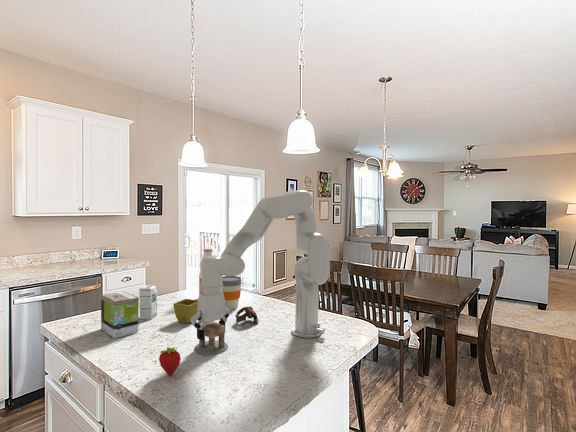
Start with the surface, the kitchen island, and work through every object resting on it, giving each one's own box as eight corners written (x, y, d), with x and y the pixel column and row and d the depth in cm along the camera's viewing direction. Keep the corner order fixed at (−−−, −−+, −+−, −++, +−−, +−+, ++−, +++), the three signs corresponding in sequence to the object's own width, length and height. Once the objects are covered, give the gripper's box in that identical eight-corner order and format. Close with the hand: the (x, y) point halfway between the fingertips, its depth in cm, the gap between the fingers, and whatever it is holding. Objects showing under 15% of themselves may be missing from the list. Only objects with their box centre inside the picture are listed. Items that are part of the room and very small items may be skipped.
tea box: (139, 332, 138) (139, 296, 137) (113, 339, 130) (113, 301, 130) (124, 323, 148) (125, 290, 148) (100, 329, 141) (100, 294, 140)
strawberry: (167, 383, 98) (167, 350, 98) (154, 375, 103) (154, 343, 103) (185, 376, 103) (185, 344, 103) (172, 368, 108) (172, 337, 108)
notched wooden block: (212, 341, 128) (212, 320, 128) (224, 347, 124) (224, 325, 123) (198, 346, 124) (199, 325, 124) (211, 352, 119) (211, 330, 119)
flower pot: (172, 323, 149) (172, 303, 149) (185, 317, 157) (185, 298, 157) (188, 326, 146) (188, 305, 145) (201, 320, 154) (201, 300, 153)
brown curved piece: (258, 328, 146) (249, 313, 144) (240, 336, 148) (230, 321, 146) (261, 312, 158) (253, 298, 156) (244, 320, 159) (236, 306, 157)
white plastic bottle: (212, 295, 195) (212, 247, 195) (218, 299, 188) (219, 249, 187) (196, 297, 190) (196, 248, 189) (202, 301, 182) (203, 250, 182)
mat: (234, 347, 124) (234, 346, 124) (207, 358, 115) (207, 357, 115) (214, 338, 132) (214, 337, 132) (187, 348, 123) (187, 347, 123)
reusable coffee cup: (239, 311, 168) (239, 281, 167) (214, 310, 168) (214, 280, 167) (242, 303, 180) (243, 276, 180) (219, 303, 180) (220, 275, 180)
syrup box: (151, 319, 153) (151, 288, 153) (139, 319, 153) (139, 287, 153) (157, 315, 159) (157, 285, 158) (144, 315, 159) (144, 284, 158)
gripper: (223, 284, 132) (223, 326, 133) (185, 292, 119) (185, 339, 119) (236, 287, 127) (236, 331, 128) (198, 296, 114) (197, 345, 115)
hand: (211, 335), depth 124 cm, fingers open, 9 cm apart
